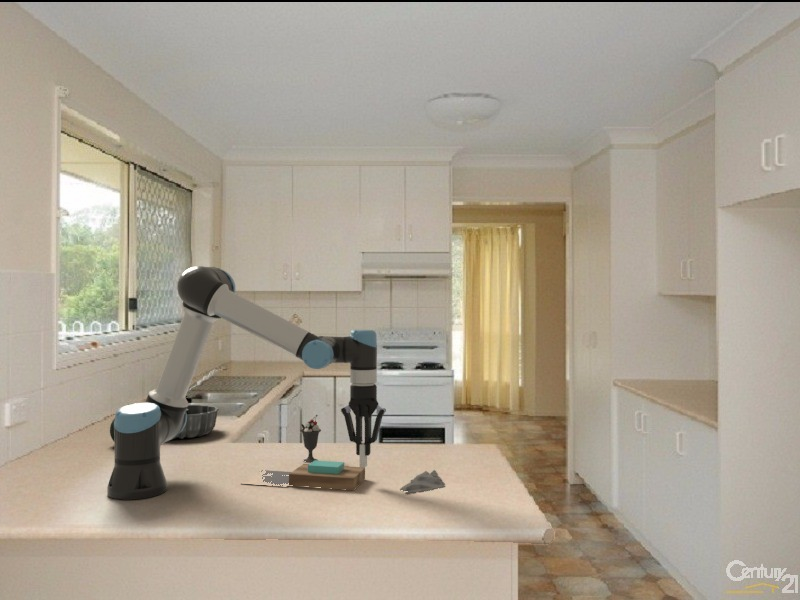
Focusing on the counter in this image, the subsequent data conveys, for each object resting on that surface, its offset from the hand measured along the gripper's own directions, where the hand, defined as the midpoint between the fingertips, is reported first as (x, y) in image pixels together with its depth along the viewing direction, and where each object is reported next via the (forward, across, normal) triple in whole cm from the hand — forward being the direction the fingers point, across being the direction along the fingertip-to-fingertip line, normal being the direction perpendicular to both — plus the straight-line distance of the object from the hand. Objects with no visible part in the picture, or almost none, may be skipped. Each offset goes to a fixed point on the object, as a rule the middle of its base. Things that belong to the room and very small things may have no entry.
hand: (363, 466), depth 193 cm
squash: (+5, +93, -29) cm, 98 cm away
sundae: (+6, +24, -23) cm, 34 cm away
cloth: (+6, -16, -6) cm, 19 cm away
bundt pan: (+5, +85, -49) cm, 98 cm away
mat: (+5, +27, 0) cm, 28 cm away
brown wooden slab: (+5, +11, 0) cm, 12 cm away
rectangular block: (+2, +11, 0) cm, 11 cm away
